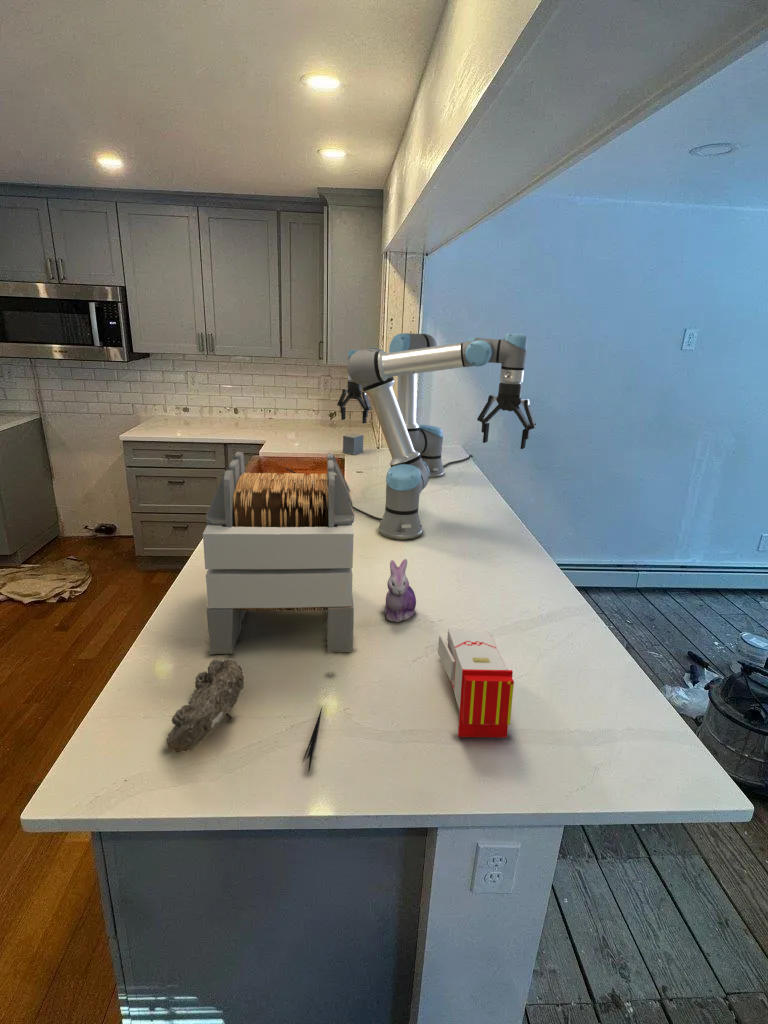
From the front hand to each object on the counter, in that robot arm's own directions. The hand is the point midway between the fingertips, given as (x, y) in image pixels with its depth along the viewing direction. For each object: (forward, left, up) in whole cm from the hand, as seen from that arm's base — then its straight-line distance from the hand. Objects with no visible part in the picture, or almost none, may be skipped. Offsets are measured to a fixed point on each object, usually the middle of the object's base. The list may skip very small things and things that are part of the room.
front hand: (503, 445), depth 195 cm
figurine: (+24, -68, -32) cm, 78 cm away
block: (-120, +28, -32) cm, 128 cm away
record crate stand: (+7, -92, -32) cm, 97 cm away
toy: (+56, -77, -32) cm, 101 cm away
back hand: (-120, +28, -15) cm, 125 cm away
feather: (+44, -107, -32) cm, 120 cm away
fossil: (+31, -122, -32) cm, 130 cm away
